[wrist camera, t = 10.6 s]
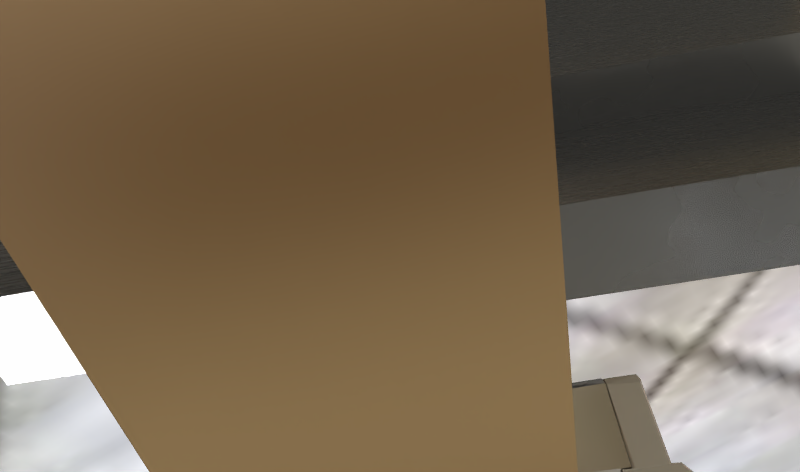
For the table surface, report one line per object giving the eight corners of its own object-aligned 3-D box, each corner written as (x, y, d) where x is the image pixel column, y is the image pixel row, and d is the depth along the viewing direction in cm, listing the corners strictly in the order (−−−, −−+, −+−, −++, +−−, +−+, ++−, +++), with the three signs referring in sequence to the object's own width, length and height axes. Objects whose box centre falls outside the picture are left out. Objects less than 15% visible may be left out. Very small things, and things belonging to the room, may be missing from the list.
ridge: (745, 178, 23) (883, 375, 17) (128, 279, 25) (45, 491, 19) (786, -181, 17) (1023, -84, 11) (-30, -14, 19) (-230, 152, 13)
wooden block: (-13, -550, 7) (-765, -950, 2) (398, -663, 7) (450, -1379, 2) (414, 627, 22) (425, 900, 17) (555, 610, 21) (606, 886, 17)
